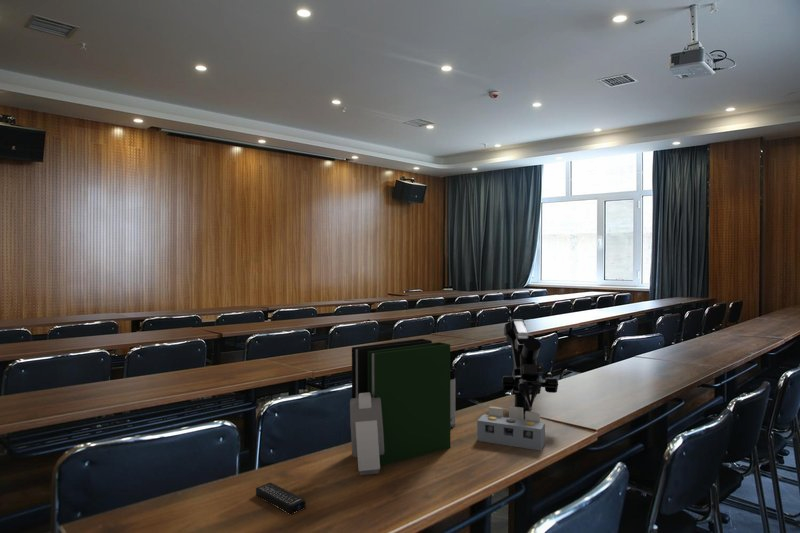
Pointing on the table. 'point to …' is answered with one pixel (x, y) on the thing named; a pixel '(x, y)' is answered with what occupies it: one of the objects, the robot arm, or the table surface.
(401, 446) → the binder
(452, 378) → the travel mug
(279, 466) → the table surface
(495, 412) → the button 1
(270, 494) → the multiport hub
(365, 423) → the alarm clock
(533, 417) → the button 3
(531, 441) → the console
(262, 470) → the table surface
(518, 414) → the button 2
